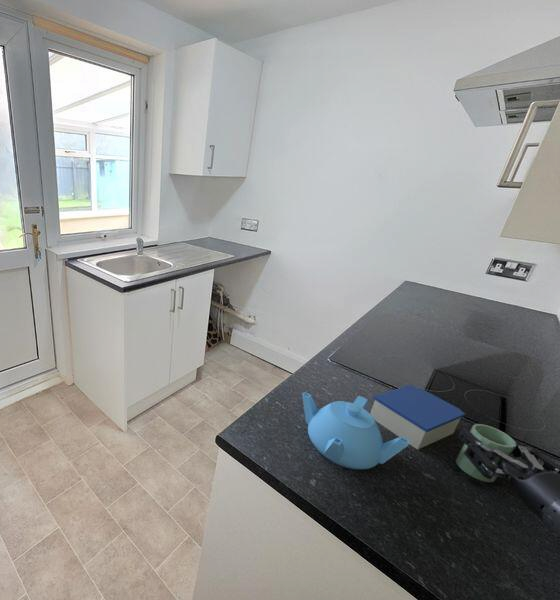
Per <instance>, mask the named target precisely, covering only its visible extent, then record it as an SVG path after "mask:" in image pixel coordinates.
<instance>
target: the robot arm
mask: <svg viewBox="0 0 560 600" xmlns="http://www.w3.org/2000/svg"><path fill="white" fill-rule="evenodd" d="M457 436H458V439H459V440H461V442H463V444H464V443H465V444H466V445H467V446H468V447H467V449H466V451H465V452H464V454H465V456H466V457H467V458H468V459H469V460H470V461H471V462H472V464H473V465H474V466H475V467H476V468H477V469H478V471H479V472H480V473H481V474H482V475H483V476H484V477H485V478H487V479H491V478H492V476H496V477H498V478H501V479H502V480H503V481H505V482H506V483H508V484H510V485H511V486H512V487H514V489H515V491H516V494H517V497H518V499H519V500H520V501H521V502H522V503H523V504H524V505H525V506H526V507H527V508H528V509H529V510H530V511H531V512H532V513H533V514H535V516H537V517H538V518H539V520H541V522H543V523H544V524H545V525H546V526H547V527H548V528H549V529H550V530H551V531H552V532H553V533H554V534H556V535H557V537H558V538H560V465H559V464H557V463H556V462H555V461H553V460H551V459H550V458H549V457H548V456H546V455H544V454H543V453H542V452H540V451H539V450H536V449H531V450H528V449H527V448H526V447H525V446H522V445H519V444H517V443H516V447H515V449H514V451H513V452H512V454H511V455H512V456H510V457H509V456H508V455H506V454H504V453H502V452H501V451H499V450H497V449H494V450H493V449H491V448H489V447H488V446H486V445H484V444H483V443H481V441H480V440H479V439H477V438H476V437H475V436H474V435H473V434H472V433H471V432H470V430H469V429H467V428H460V431H459V433H458V435H457ZM482 450H484V451H486V452H487V453H489V456H488V457H487V456H486V455H485V454H484V453H483V452H482ZM474 455H475V456H474ZM497 456H498V457H500V458H501V459H500V461H499V462H498V465H496V464H495V460H496V458H497ZM539 460H540V461H542V462H543V464H541V463H540V462H539Z"/></svg>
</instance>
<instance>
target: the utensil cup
mask: <svg viewBox="0 0 560 600" xmlns="http://www.w3.org/2000/svg"><path fill="white" fill-rule="evenodd" d="M469 432H471V433H472V434H473V435H474V436H475V437H476V438H477V439H479V440H480V441H481V443H483V444H484V445H486V446H488V447H489V448H491V449H493V450H494V449H497V450H499V451H501V452H502V453H504V454H506V455H508V456H509V457H512V455H513V454H512V452H513V451H514V449H515V447H516V444H517V442H516V441H515V440H514V438H512V437H511V436H510V435H508V434H507V433H506V432H504V431H502V430H500V429H498V428H495V427H494V426H490V425H487V424H483V423H475V424H473V425H472V426H471V428H470V430H469ZM467 447H468V446H467V445H466V444H465V443H464V442H463V444H462V446H461V448H460V450H459V451H458V454H457V456H456V459H455V463H456V465H457V466H458V468H460V470H462V472H464V473H466V474H467V475H469V476H470V477H471V478H474V479H476V480H478V481H481V482H485V483H495V481H497V479H498V478H499V477H496V476H492V478H491V479H487V478H485V477H484V476H483V475H482V474H481V473H480V472H479V471H478V469H477V468H476V467H475V466H474V465H473V464H472V462H471V461H470V460H469V459H468V458H467V457H466V456H465V454H464V452H465V451H466V449H467ZM482 452H483V453H484V454H485V455H486V456H487V457H488V456H489V453H487V452H486V451H484V450H482ZM474 456H475V455H474ZM500 459H501V458H500V457H498V456H497V458H496V460H495V464H496V465H498V462H499V461H500Z"/></svg>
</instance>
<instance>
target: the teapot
mask: <svg viewBox="0 0 560 600" xmlns="http://www.w3.org/2000/svg"><path fill="white" fill-rule="evenodd" d="M301 397H302V405H303V411H304V412H303V413H304V418H305V423H306V424H307V433H308V437H309V439H310V441H311V442H312V445H313V446H314V447H315V448H316V450H317V451H318V452H319V453H320V454H321V455H322V456H323V457H324V458H325V459H327V460H328V461H330V462H331V463H334V464H335V465H338V466H339V467H342V468H346V469H350V470H368V469H371V468H374V467H376V466H377V465H378V464H381V465H383V464H385V463H386V462H388V461H389V460H390V459H392V458H393V457H394V456H396V455H397V454H399V453H400V452H402V451H403V450H404V449H406V448H407V447H408V446H409V445H410V444H409V440H407V439H405V438H403V437H401V436H400V437H396V438H394V439H390V440H388V441H386V442H384V441H383V438H382V434H381V431H380V429H379V426H378V424H377V421H375V420H374V418H373V417H372V415H371V414H370V413H371V412H369V411H368V410H367V406H368V403H369V402H368V401H369V399H367V398H365V397H364V396H361V395H358V396H357V397H356V398H355V400H354V401H353V402H350V401H345V400H337V401H336V400H335V401H333V402H330V403H328V404H326V405H324V406H323V407H321V408H319V409H318V407H317V405H316V403H315V401H314V399H313V397H312V394H310V393H308V392H306V391H303V393H302V394H301Z"/></svg>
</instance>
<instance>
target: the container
mask: <svg viewBox="0 0 560 600" xmlns="http://www.w3.org/2000/svg"><path fill="white" fill-rule="evenodd" d="M373 400H374V401H373V405H372V407H371V410H370V412H369V413H370V414H371V415H372V417H373V418H374V420H375V422H376V423H378V424H379V425H381V426H383V427H384V428H385V429H387V430H388V431H389V432H392V434H393V435H395V436H397V438H399V437H400V436H401V437H403V438H405V439H407V440H409V445H410V446H412V447H413V448H414V449H415V450H420V449H422V448H424V447H427V446H429V445H431V444H434V443H436V442H438V441H440V440H442V439H444V438H447V437H449V436H451V435H454V433H455V431H456V429H457V427H458V425H459V422H460V421H461V419H462V418H463V417H465V416H466V413H465V412H463V411H462V408H459V407H457V406H455V405H453V404H451V403H450V402H448V401H445V400H444V399H442V398H440V397H439V396H436V395H434V394H432V393H430V392H429V391H427V390H425V389H423V388H421V387H416V386H414V385H413V384H408V385H405V386H402V387H399V388H396V389H393V390H389V391H387V392H383V393H379V394H377V395H374V396H373Z"/></svg>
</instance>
